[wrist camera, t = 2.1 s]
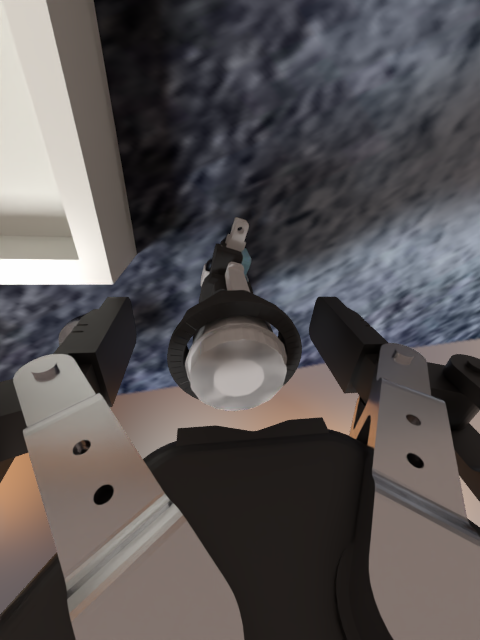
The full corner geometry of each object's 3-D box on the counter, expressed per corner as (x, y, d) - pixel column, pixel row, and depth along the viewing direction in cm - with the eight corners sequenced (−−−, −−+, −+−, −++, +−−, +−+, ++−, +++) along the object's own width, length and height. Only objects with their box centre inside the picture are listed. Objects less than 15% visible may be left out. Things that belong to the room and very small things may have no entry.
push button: (199, 203, 15) (190, 254, 6) (280, 230, 16) (357, 301, 8) (178, 299, 18) (152, 417, 10) (246, 315, 19) (277, 430, 11)
